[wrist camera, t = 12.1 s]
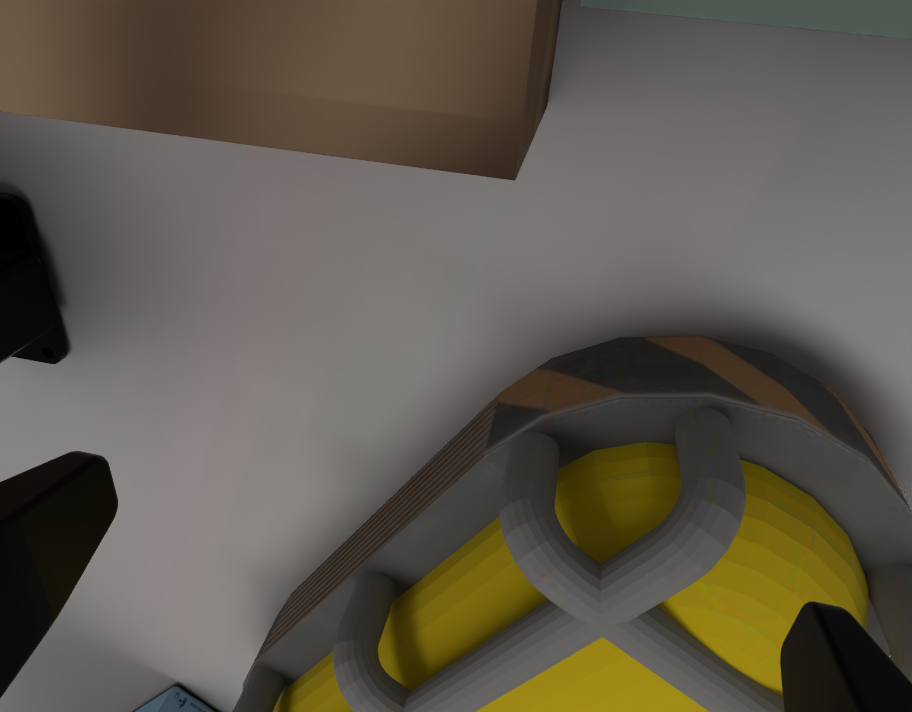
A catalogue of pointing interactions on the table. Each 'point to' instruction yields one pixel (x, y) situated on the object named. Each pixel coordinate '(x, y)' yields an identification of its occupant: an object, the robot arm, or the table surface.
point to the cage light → (606, 548)
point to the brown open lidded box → (294, 73)
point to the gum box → (175, 703)
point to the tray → (785, 13)
